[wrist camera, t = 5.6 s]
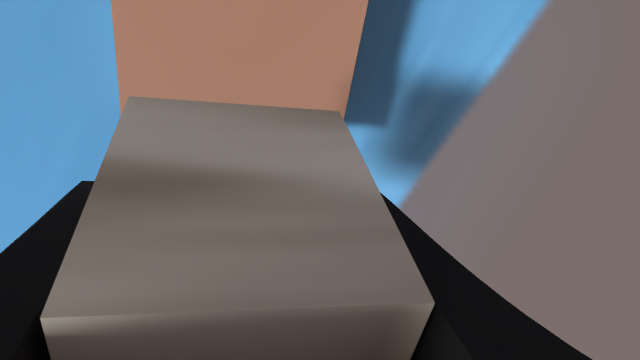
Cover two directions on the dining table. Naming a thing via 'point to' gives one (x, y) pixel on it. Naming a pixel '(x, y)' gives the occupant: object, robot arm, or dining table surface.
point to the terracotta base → (239, 51)
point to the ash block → (234, 244)
